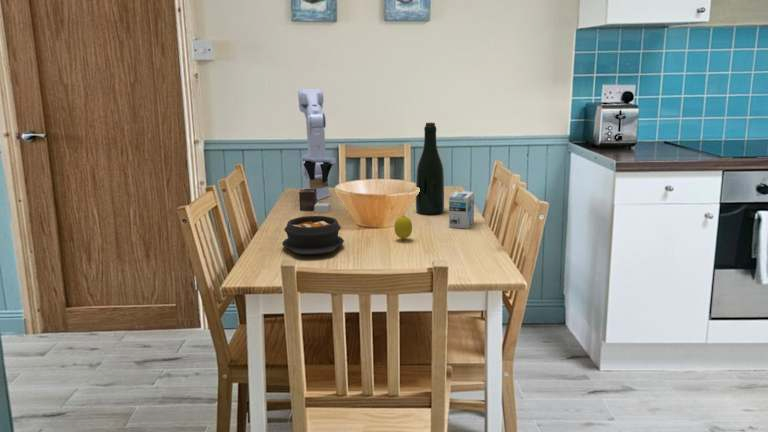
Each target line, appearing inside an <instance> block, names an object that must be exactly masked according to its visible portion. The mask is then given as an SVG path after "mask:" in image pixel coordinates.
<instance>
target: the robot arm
mask: <svg viewBox="0 0 768 432" xmlns="http://www.w3.org/2000/svg"><path fill="white" fill-rule="evenodd" d="M297 92H298V93H297V97H298V99H297V100H298V108H299V111H300V112H301V113H303V114H304V118H305V123H306V125H305V126H306V137H307V138H306V139H307V153H305V154H304V155H302V156H300V157H299V159H300V162H301V170H302V172H301V174H302V175H303V177H305V189H316V193H317V201H319V200H322V199H325V198H328V197H330V196H331V194H330V193H329V185H328V186H327V187H324V188H310V181H309V180H313V179H316V178H322V180H323V182H327V179H328V178H329V174H330V172H331V169H332V167H333V165H334V164H337V161H336V159H337V158H336V157H329V156H326V139H325V138H326V137H325V134H326V133H325V129H326V125H327V124H326V123H327V122H326V121H327V120H326V114H325V112H323V107H324V91H323V89H321V88H320V89H316V88H315V89H298V91H297ZM328 180H329V179H328Z"/></svg>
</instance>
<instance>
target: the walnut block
mask: <svg viewBox="0 0 768 432" xmlns="http://www.w3.org/2000/svg"><path fill="white" fill-rule="evenodd" d="M309 181H310V188H324V187H327V186H328V187H329V179H327V182H323V180H322V178H316V179H313V180H309Z"/></svg>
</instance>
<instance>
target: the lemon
mask: <svg viewBox="0 0 768 432" xmlns="http://www.w3.org/2000/svg"><path fill="white" fill-rule="evenodd" d="M412 232H413V225H412V220H411V219H410V218H409V217H408V216H406V215H403V214H402V215H401V216H399V217H398V218H397V219H395V222H394V233H395V235H396V236H397V237H398V238H400V239H401V240H402V241H405V240H406V239H407V238H409V237H410V236H411V235H412Z"/></svg>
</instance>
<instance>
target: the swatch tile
mask: <svg viewBox="0 0 768 432" xmlns="http://www.w3.org/2000/svg"><path fill="white" fill-rule="evenodd" d="M317 203H330V206H331V205H333V202H332V203H331V202H327V201H319V202H318V201H317Z"/></svg>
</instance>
